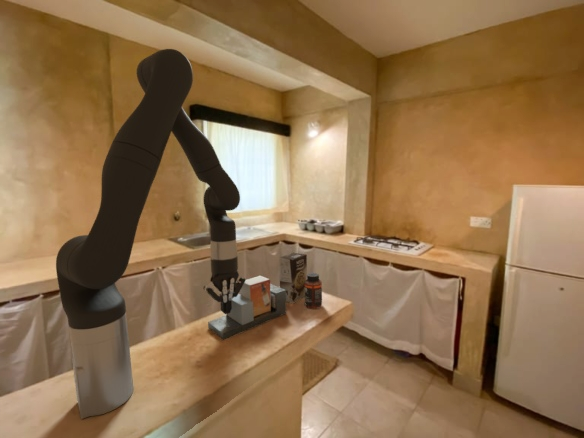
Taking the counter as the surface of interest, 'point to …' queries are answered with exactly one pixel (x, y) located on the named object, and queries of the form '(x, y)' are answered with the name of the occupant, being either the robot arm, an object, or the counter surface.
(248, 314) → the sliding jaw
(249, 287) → the small box
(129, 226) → the robot arm
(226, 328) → the vise bed
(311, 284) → the supplement bottle
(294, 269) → the coffee box
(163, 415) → the counter surface
